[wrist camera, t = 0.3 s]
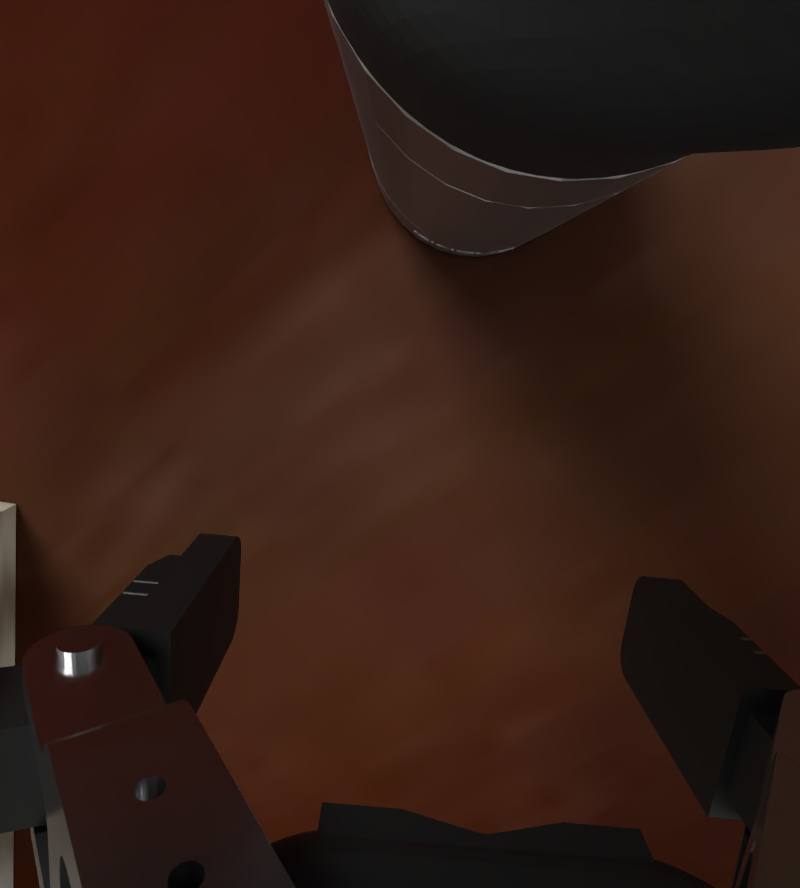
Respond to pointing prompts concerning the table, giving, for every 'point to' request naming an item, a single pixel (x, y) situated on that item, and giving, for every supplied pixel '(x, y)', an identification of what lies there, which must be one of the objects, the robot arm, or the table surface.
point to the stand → (7, 646)
